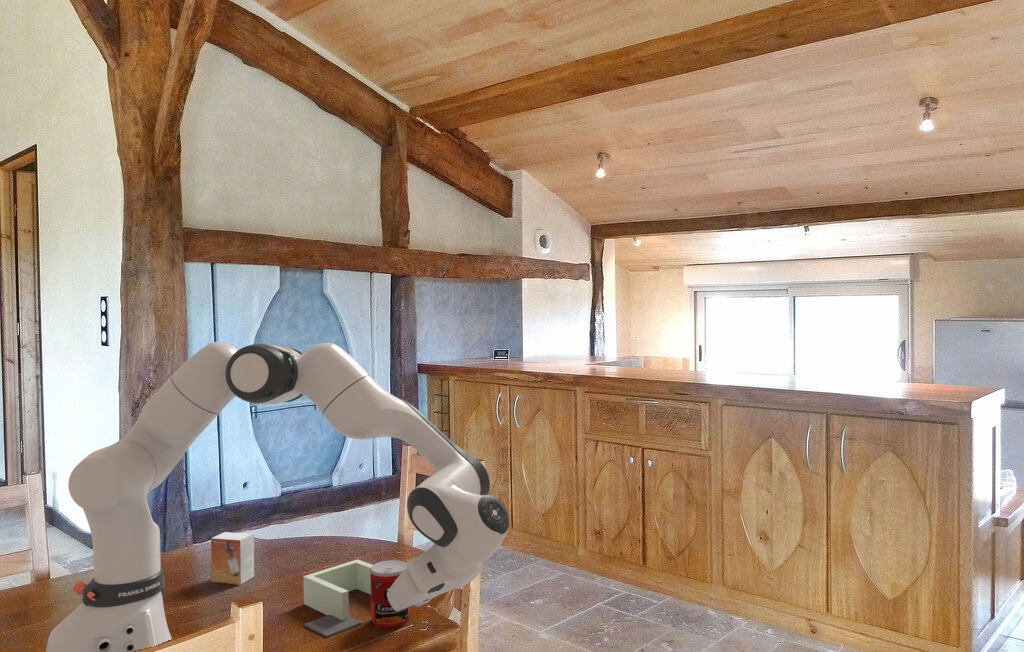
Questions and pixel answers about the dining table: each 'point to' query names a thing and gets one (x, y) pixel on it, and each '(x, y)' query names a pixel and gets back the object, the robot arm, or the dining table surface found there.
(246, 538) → the small box
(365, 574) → the dock
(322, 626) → the mat
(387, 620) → the canned food
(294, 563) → the dining table surface
